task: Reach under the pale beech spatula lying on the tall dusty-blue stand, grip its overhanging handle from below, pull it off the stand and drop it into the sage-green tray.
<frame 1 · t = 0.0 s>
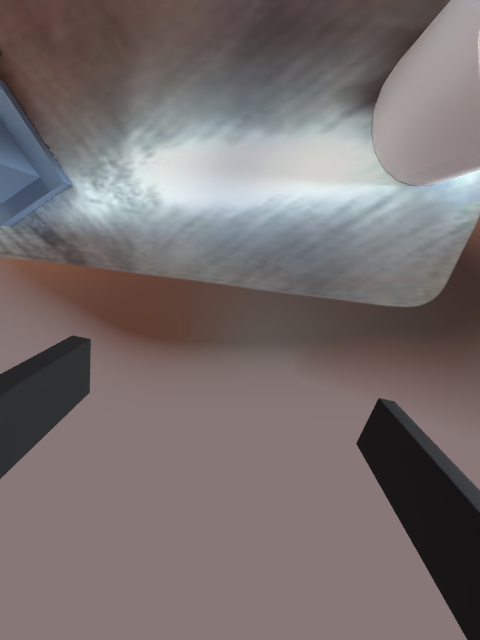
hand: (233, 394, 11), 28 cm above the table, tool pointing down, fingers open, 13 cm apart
canister: (433, 116, 30), on the table
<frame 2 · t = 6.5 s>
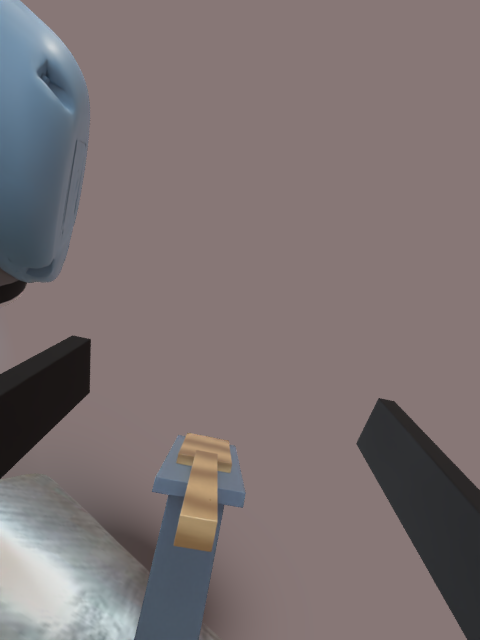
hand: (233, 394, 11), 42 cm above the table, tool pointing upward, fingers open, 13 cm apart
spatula: (203, 468, 29), point 30 cm above the table, touching stand
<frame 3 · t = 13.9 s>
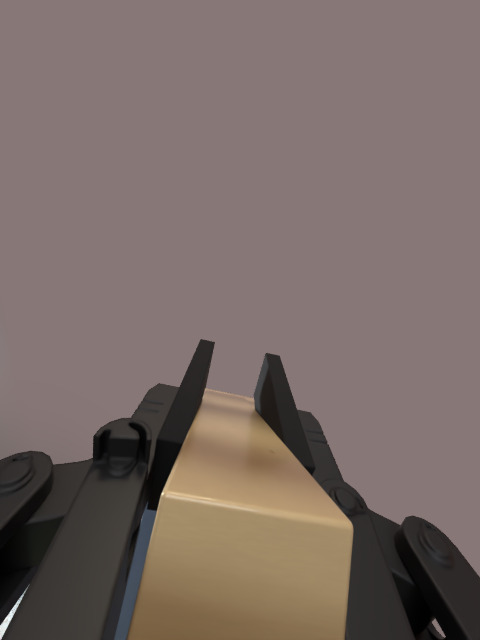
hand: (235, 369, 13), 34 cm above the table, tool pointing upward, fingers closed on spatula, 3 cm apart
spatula: (219, 424, 15), point 30 cm above the table, touching gripper, stand
when the fingers open (22 cm above the table, at t = 21.9 s): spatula drops 18 cm, resting on tray.
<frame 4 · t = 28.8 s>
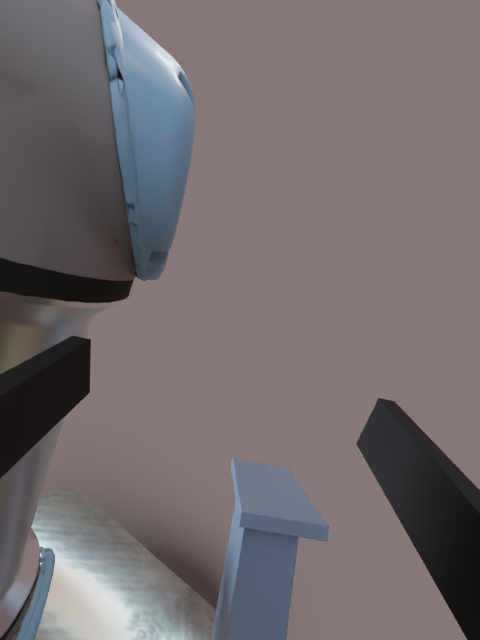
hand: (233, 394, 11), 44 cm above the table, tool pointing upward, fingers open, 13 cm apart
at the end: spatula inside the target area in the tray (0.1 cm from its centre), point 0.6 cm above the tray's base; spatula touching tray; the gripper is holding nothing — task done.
